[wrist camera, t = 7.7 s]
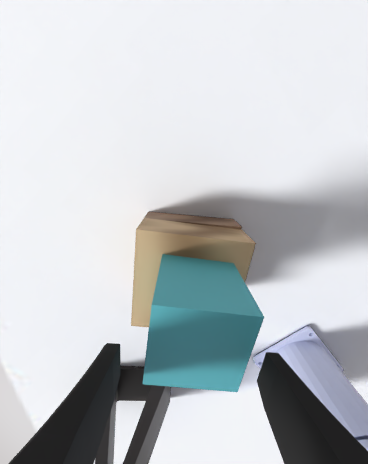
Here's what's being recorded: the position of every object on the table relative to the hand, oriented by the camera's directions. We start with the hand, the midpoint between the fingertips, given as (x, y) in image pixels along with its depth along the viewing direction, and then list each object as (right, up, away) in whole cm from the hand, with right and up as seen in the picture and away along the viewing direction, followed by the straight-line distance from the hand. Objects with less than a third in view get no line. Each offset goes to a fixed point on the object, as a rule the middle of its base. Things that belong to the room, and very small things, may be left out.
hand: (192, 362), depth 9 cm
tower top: (0, +3, +7) cm, 8 cm away
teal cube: (0, +2, +4) cm, 5 cm away
